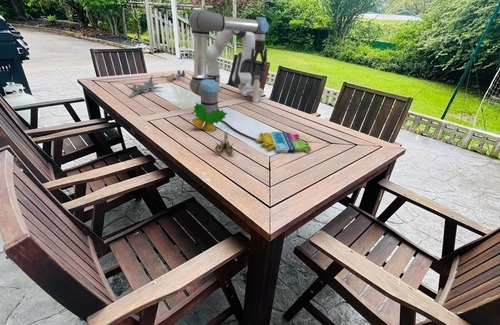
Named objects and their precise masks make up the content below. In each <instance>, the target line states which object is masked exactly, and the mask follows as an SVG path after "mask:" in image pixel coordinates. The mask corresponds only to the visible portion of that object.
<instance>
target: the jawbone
mask: <svg viewBox="0 0 500 325" xmlns="http://www.w3.org/2000/svg"><path fill="white" fill-rule="evenodd" d="M223 135H224V136H223V140H222V139H221V142H220V144H218V142H215V144H216V146H215V148H214V149H215V152H214V154H215V155H217V156H218V155H220V153H221V152H223V151H224V150H226V152H227V153H228V155H229V156H233V155H234V154H233V153H234V148H233V144H234V143H230V140H228V139H229V138H228V137H229V136H228V135H229V133H228V131H226V132H224V134H223Z"/></svg>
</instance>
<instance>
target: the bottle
mask: <svg viewBox="0 0 500 325" xmlns="http://www.w3.org/2000/svg"><path fill="white" fill-rule="evenodd" d="M252 86H253V94H254V95H253V96H252V98H251V102H252V103H259V102H260V95H259V90H260V88H261V82H260V79H254V80H253V82H252Z"/></svg>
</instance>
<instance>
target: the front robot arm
mask: <svg viewBox="0 0 500 325" xmlns="http://www.w3.org/2000/svg"><path fill="white" fill-rule="evenodd" d="M188 23H189V26H190V28H191V34H192V35H193V50H194V51H193V74H192V75H191V80H190V81H189V88H190V90H191V92H192V93H194V94H195V95H197V96H199V97H200V104H201V106H204V109H206V112H208V113H211V112H212V110H214V111H216V110H217V109H219V111H221V110H220V108H219V102H218V99H219V98H218V97H219V91H218V85H217V83H216V82H215V81H213V80H209V77H208V76H207V47H208V38H209V36H210V33H212V32H213V33H214V32H219V31H223V30H232V31H245V32H252V33H254V34H255V39H256V40H255V48H253V49H251V51H252V52H251V58H250V60H249V61H250V63H252V66H251V67H252V72H253V73H255V72H256V66H257V64H256V61H257V58H258V55H260V59H261V62H260V71H261V72H264V67H265V63H267V61H268V48H266V47H265V46H266V45H265V44H266V41H265V40H266V33H268V31H269V29H270V26H269V25H270V24H269V23H268V22H267V18H266V17H262V16H256V19H251V18H250V19H249V18H241V17H234V16H233V17H232V16H231V17H230V16H225V15H224V14H223V13H216V12H213V11H209V10H201V9H200V10H199V9H198V10H194V11H192V12H191V13H190V14H189V17H188ZM254 51H255V53H254ZM208 113H207V115H208ZM222 123H224V124H225V125H226V126H227V127H228V128H230V129H231V130H232V131H234V132H236V133H238V134H240V135H242V136H243V137H246V138H248V139H251V140H253V141H255V142H256V141H257V139H258V138H255V137H252V136H249V135H248V134H245V133H243V132H241V131H239V130H238V129H236V128H234V127H233V126H231V125H230V124H229V123H228V122H226V121H225V120H223V119H222ZM262 143H263V142H260V143H259V144H262Z"/></svg>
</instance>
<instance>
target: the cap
mask: <svg viewBox="0 0 500 325" xmlns="http://www.w3.org/2000/svg"><path fill="white" fill-rule="evenodd" d="M255 79H259V80H260V79H261V76H260V75H254V77H253V80H255Z"/></svg>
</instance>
